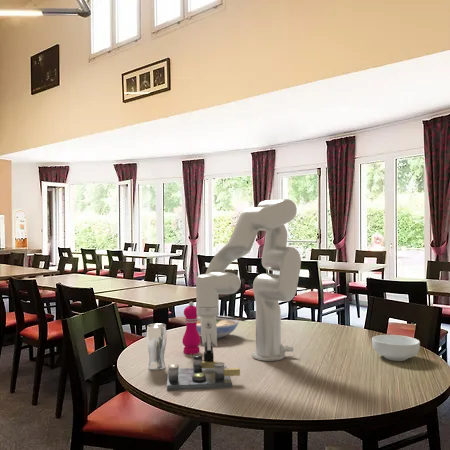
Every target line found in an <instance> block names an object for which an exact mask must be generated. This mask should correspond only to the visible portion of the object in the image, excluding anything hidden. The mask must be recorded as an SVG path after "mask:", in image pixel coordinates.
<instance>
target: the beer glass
mask: <svg viewBox="0 0 450 450" xmlns="http://www.w3.org/2000/svg"><path fill="white" fill-rule="evenodd" d="M146 328H147V329H146V344H147V345H146V346H147V350H148V352H147V353H148V366H147V369H148V370H150V371H160V370H161V371H162V370H164V369H165V368H166V363H165V351H166V345H167V324H165V323H158V322H157V323H150V324H148V325H146Z"/></svg>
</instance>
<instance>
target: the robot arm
mask: <svg viewBox="0 0 450 450" xmlns="http://www.w3.org/2000/svg"><path fill="white" fill-rule="evenodd" d="M297 211H298V210H297V205H296V203H295V202H294V201H293V200H291V199H289V198H282V199H281V198H280V199H279V198H277V199H267V200H263V201H259V203H258V205H257V206H256V207H247V208H245V209H243V211H241V213H240V214H239V216H238V219H237V222H236V224H235V227H234V228H233V231H232V233H231V235H230V238H229V241H228V242H227V243H226V244H224V246H222V248H221V249H220V250H219V251H218V252H217V253H216V254H215V255H214V256H213V257H212V258H211V261H210V262H209V264H208V267H207V269H206V272H205V273H203V274H199V275H198V276H196V280H195V288H196V289H195V295H196V298H195V299H196V307H197V317H200V321H201V335H200V338H201V343H202V346H203V347H204V352H203V361H215V359H214V357H215V356H214V350H213V349H214V346H215V347H218V339H217V326H216V316H220V315H219V313H220V311H219V309H220V308H219V304H220V303H219V295H232V294H235V293H237V292H238V291H239V289H240V288H241V284H242V283H241V279H240V277H239V276H238V275H237V274H235V273H234V272H229V271H226V269H227V268H228V267H229V266H230V265H231V264H232V263H233V262H235V261H236V260H238V259H241V258H242V257H244V256H246V255H247V254H249V253H250V252H251V251H252V247H253V245H254V242H255V240H256V238H257V235H258V234H259V231H265V237H264V244H263V250H262V255H261V265H262V267H263V268H264V269H265V270H268V271H273V272H274V271H275V272H279V274H275V273H261V274H258V275H257V276H256V277H255V278H254V280H253V283H252V289H253V290H252V291H253V297H254V302H255V350H253V351H252V353H251V356H252V358H254V359H255V360H258V361H265V362H274V361H281V360H283V359H285V357H286V352H294V346H292V345H291V346H289V345H283V344H282V330H281V329H282V326H281V325H282V322H281V321H282V318H281V316H282V315H281V314H282V313H281V311H282V310H281V305H280V302H290V301H291V300H292V301H293V299H294V298H295V295H296V293H297V289H298V284H299V279H300V278H299V277H300V271H301V265H302V257H301V254H300V252H299V251H298V250H297V248H295V247H293V246H287V244H288V231H287V228H286V224H288V223H289V222H291V221H293V220H294V219H295V218H296V216H297Z"/></svg>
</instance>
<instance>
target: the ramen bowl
mask: <svg viewBox="0 0 450 450" xmlns="http://www.w3.org/2000/svg"><path fill="white" fill-rule="evenodd" d="M197 318H198V319H197V320H198V321H197V324H196V326H197V331H198V333H199V336H201V321H200V317H198V316H197ZM246 321H248V319H247V318H241V317H233V316H226V315H218V316H216V326H217V340H218V339H219V340H220V339H221V338H223V337H225V336H226V337H227V336H228V335H230V334H232V333H233V332H234V331H235V330H236V328H237V327H238V325H239V323H240V322H246Z"/></svg>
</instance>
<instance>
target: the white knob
mask: <svg viewBox="0 0 450 450" xmlns="http://www.w3.org/2000/svg"><path fill="white" fill-rule="evenodd" d="M167 367H168V369H169V381H171V382H175V381H178V368H180V366H179V364H177V363H170V364H169V365H167Z"/></svg>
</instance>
